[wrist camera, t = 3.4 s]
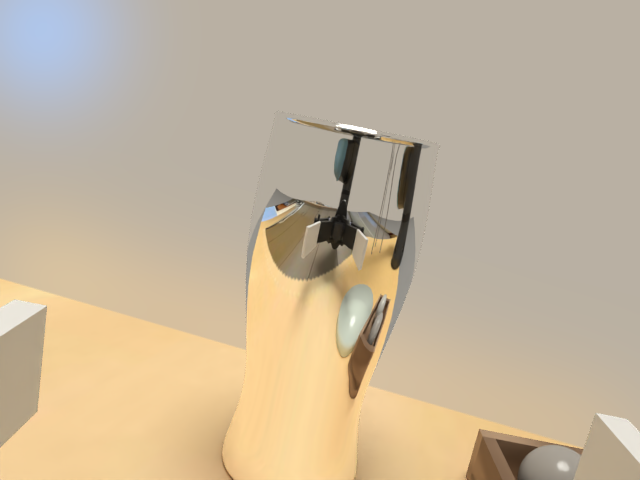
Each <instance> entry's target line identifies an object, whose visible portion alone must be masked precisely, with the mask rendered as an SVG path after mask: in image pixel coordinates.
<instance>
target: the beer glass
mask: <svg viewBox="0 0 640 480" xmlns="http://www.w3.org/2000/svg"><path fill="white" fill-rule="evenodd" d="M439 147H440V145H439V144H437V143H433V142H429V141H425V140H421V139H416V138H411V137H406V136H401V135H397V134H392V133H387V132H382V131H377V130H372V129H368V128H362V127H357V126H352V125H348V124H342V123H337V122H332V121H327V120H322V119H317V118H312V117H307V116H301V115H296V114H291V113H285V112H275V118H274V123H273V127H272V131H271V135H270V139H269V144H268V147H267V150H266V154H265V158H264V162H263V166H262V170H261V174H260V178H259V182H258V187H257V192H256V197H255V202H254V206H253V211H252V217H251V226H250V232H249V240H248V248H247V269H246V337H247V338H246V340H247V341H246V367H245V376H244V382H243V387H242V391H241V395H240V399H239V402H238V405H237V408H236V410H235V413H234V416H233V418H232V421H231V423H230V426H229V428H228V431H227V433H226V436H225V439H224V442H223V447H222V458H223V463H224V466H225V468H226V470H227V472H228V473H229V474H230V476H231V477H232V478H233V479H234V480H354V479H355V475H356V468H357V446H358V426H359V417H360V412H361V407H362V403H363V400H364V397H365V394H366V390H367V387H368V385H369V382H370V380H371V377H372V375H373V373H374V370H375V368H376V366H377V363H378V361H379V359H380V357H381V354H382V352H383V350H384V348H385V346H386V343H387V341H388V339H389V336H390V334H391V332H392V330H393V327H394V325H395V323H396V320H397V318H398V316H399V314H400V311H401V309H402V306H403V303H404V301H405V298H406V295H407V293H408V290H409V287H410V285H411V282H412V279H413V276H414V272H415V268H416V264H417V261H418V257H419V254H420V250H421V246H422V241H423V236H424V231H425V227H426V222H427V217H428V211H429V204H430V199H431V192H432V185H433V179H434V172H435V166H436V160H437V154H438V150H439Z"/></svg>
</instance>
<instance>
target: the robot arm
mask: <svg viewBox="0 0 640 480" xmlns="http://www.w3.org/2000/svg"><path fill="white" fill-rule="evenodd" d="M46 312H47V306H45V305H40V304H35V303H30V302H24V301H19V300H13V301H11V302H9V303H8V304H6V305H4V306H2V307H1V308H0V447H1V446H2V445H3V444H4V443H5V442H6V441H7V440H9V439H10V438H11V437H12V436H13V435H14V434H15V433H16V432H17V431H18V430H19V429H20V428H21V427H22V426H23V425H24V424H25V423H26V422H27V421H28V420H29V419H30V418H31V417H32V416H33V415H34V414H35V413H36V412H37V409H38V398H39V387H40V377H41V366H42V355H43V344H44V333H45V323H46ZM573 480H640V432H639V431H638V430H637V429H636V428H635V427H634V426H633V425H632V424H631V423H630V421H629V420H628V419H624V418H619V417H614V416H609V415H604V414H598V413H596V414H595V416H594V420H593V422H592V425H591V428H590V431H589V434H588V437H587V440H586V443H585V446H584V449H583V452H582V455H581V458H580V461H579V464H578V467H577V470H576V473H575V476H574V479H573Z"/></svg>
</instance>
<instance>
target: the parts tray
mask: <svg viewBox="0 0 640 480" xmlns="http://www.w3.org/2000/svg"><path fill="white" fill-rule="evenodd" d="M545 445H558V444H553V443H548V442H543V441H538V440H533V439H528V438H522V437H517V436H512V435H507V434H502V433H497V432H492V431H487V430H481V429H479V432H478V436H477V439H476V443H475V446H474V450H473V453H472V456H471V460H470V463H469V467H468V470H467V474H466V476H467V479H468V480H517V474H518V470H519V467H520V464H521V462H522V461H523V459H524V458H525V457H526V455H527V454H529V453H530V452H531V451H532V450H534V449H536V448H538V447H541V446H545ZM560 446H563V445H560ZM564 447H567V448H569V449H572V450H574V451H575V452H577V453H578V454H580V455H582V452H583V449H579V448H574V447H569V446H564Z"/></svg>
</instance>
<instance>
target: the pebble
mask: <svg viewBox="0 0 640 480" xmlns="http://www.w3.org/2000/svg"><path fill="white" fill-rule="evenodd" d="M580 458H581V455H580V454H578V453H577V452H575V451H574V450H572V449H569V448H567V447H564V446H560V445H545V446H541V447H538V448H536V449H534V450H532V451H531V452H530V453H529V454H527V455H526V457H525V458H524V459H523V461H522V462H521V464H520V467H519V470H518V474H517V480H573V479H574V476H575V473H576V470H577V467H578V464H579V461H580Z"/></svg>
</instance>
